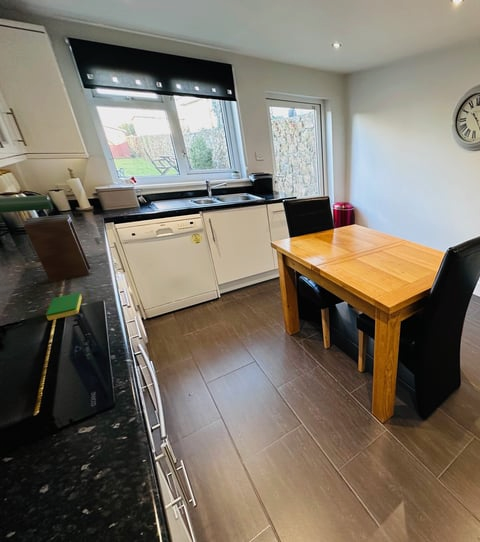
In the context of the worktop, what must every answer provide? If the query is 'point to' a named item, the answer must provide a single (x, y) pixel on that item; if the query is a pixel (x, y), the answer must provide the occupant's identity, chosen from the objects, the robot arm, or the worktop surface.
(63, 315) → the dish sponge
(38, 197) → the bottle
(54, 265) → the dark brown block
